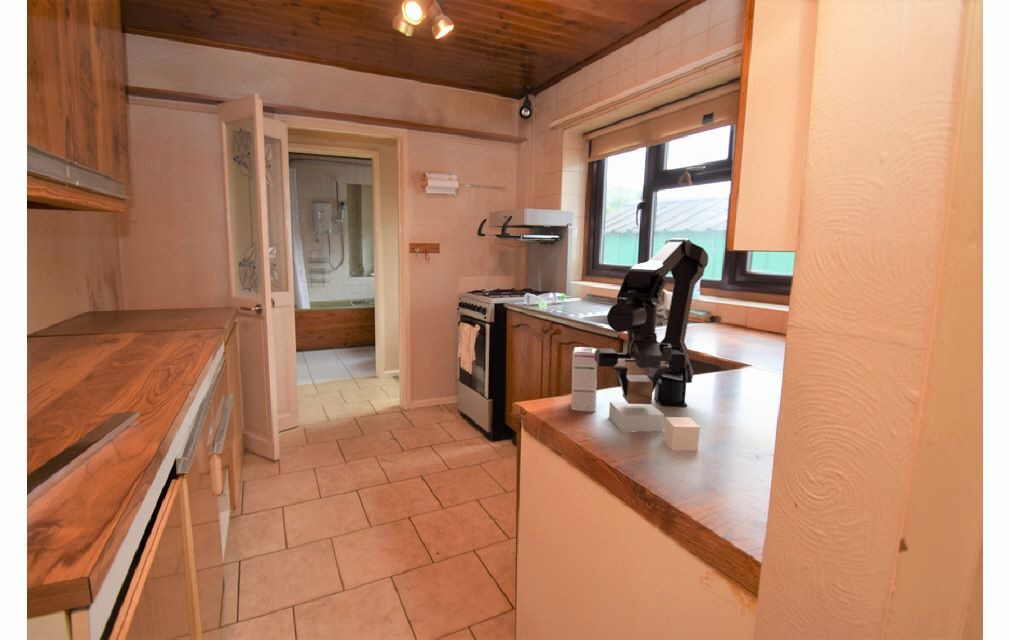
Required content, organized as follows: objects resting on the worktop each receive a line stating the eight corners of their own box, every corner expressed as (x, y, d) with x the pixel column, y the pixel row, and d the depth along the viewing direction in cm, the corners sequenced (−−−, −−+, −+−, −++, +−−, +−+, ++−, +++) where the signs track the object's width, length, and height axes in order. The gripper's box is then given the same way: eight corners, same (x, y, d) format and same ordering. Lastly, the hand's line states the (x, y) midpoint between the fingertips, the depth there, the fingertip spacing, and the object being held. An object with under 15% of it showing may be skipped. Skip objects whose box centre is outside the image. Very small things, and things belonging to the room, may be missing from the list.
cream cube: (687, 440, 95) (689, 417, 94) (697, 451, 90) (699, 427, 89) (663, 440, 95) (665, 417, 94) (671, 450, 90) (673, 426, 89)
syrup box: (595, 412, 110) (598, 352, 108) (570, 410, 111) (572, 351, 109) (595, 404, 116) (598, 347, 113) (571, 402, 117) (574, 346, 114)
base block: (646, 417, 108) (647, 401, 108) (663, 432, 100) (664, 414, 99) (609, 418, 108) (609, 401, 107) (622, 433, 99) (623, 415, 98)
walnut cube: (644, 396, 105) (646, 375, 104) (651, 404, 100) (653, 381, 99) (622, 396, 105) (624, 374, 104) (628, 403, 100) (629, 381, 99)
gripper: (606, 332, 92) (602, 407, 95) (700, 334, 92) (693, 409, 95) (595, 323, 103) (592, 390, 106) (679, 324, 103) (674, 392, 106)
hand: (637, 395), depth 103 cm, fingers closed on walnut cube, 5 cm apart
